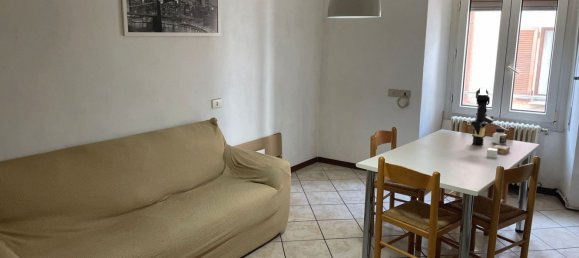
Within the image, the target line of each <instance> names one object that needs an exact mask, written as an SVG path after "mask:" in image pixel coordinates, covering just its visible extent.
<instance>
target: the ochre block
mask: <svg viewBox="0 0 579 258" xmlns="http://www.w3.org/2000/svg"><path fill="white" fill-rule="evenodd" d="M485 131H486V127H481V128H480V132H479V135H477V133H476V130H475V135H474V134H473V135H474V136H478V137H483V136H484V135H485V136H486V134H485ZM483 138H484V137H483Z"/></svg>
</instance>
